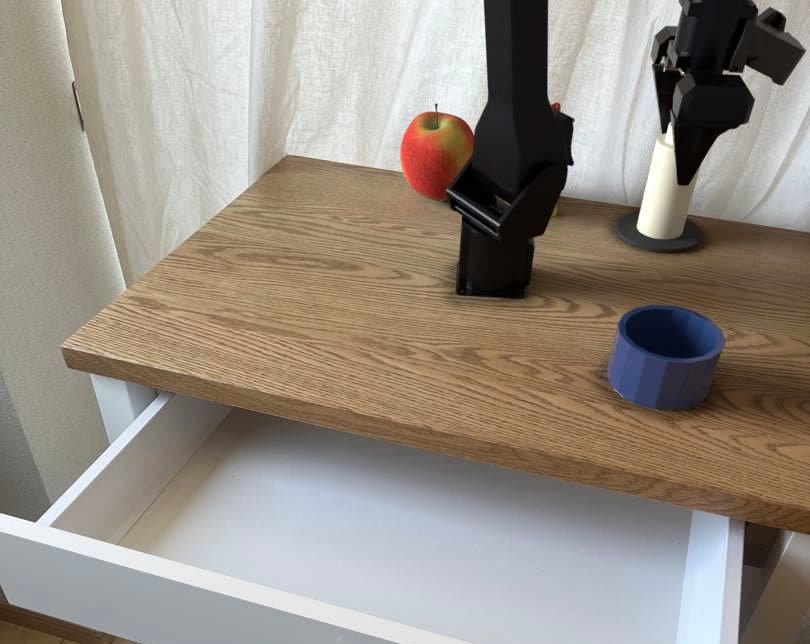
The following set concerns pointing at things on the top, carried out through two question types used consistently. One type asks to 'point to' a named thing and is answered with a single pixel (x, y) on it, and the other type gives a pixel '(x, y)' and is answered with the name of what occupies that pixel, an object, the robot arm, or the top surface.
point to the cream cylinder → (664, 194)
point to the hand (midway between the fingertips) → (675, 165)
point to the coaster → (631, 235)
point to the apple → (435, 152)
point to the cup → (664, 357)
